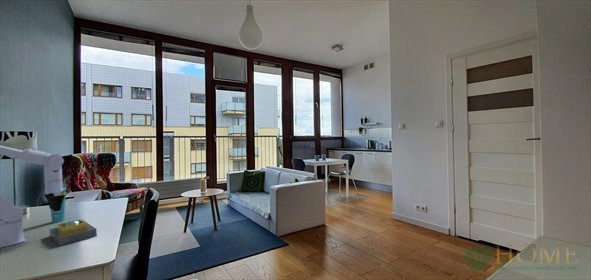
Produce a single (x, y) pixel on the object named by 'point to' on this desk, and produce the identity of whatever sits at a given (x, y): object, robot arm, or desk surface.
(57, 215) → the tube
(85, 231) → the grey and yellow block
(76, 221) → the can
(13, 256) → the desk surface
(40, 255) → the desk surface
